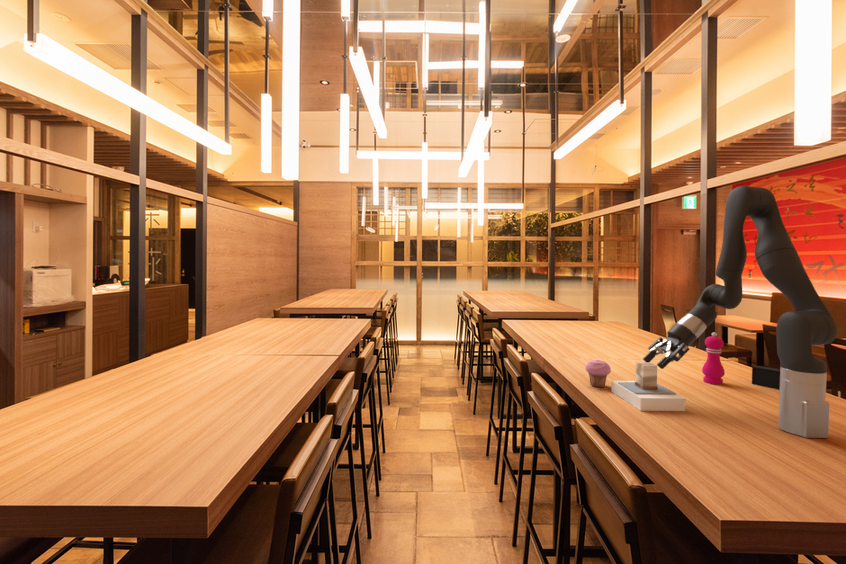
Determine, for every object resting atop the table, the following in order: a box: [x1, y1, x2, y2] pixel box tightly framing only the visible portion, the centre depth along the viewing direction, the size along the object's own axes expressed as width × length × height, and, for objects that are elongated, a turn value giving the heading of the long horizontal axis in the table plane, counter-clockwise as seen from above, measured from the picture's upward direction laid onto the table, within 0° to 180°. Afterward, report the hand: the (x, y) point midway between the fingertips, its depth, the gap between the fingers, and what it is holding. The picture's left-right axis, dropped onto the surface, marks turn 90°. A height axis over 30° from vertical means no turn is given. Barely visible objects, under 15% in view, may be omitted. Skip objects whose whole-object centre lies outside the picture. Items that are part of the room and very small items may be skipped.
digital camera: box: [751, 365, 780, 391], centre depth 152 cm, size 10×5×7 cm, turn 30°
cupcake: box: [584, 359, 612, 388], centre depth 152 cm, size 9×9×10 cm
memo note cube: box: [635, 361, 658, 390], centre depth 135 cm, size 5×5×8 cm
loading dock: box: [610, 379, 687, 412], centre depth 135 cm, size 20×14×4 cm
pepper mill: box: [701, 331, 726, 385], centre depth 157 cm, size 7×7×20 cm
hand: (652, 364), depth 134 cm, fingers open, 8 cm apart
